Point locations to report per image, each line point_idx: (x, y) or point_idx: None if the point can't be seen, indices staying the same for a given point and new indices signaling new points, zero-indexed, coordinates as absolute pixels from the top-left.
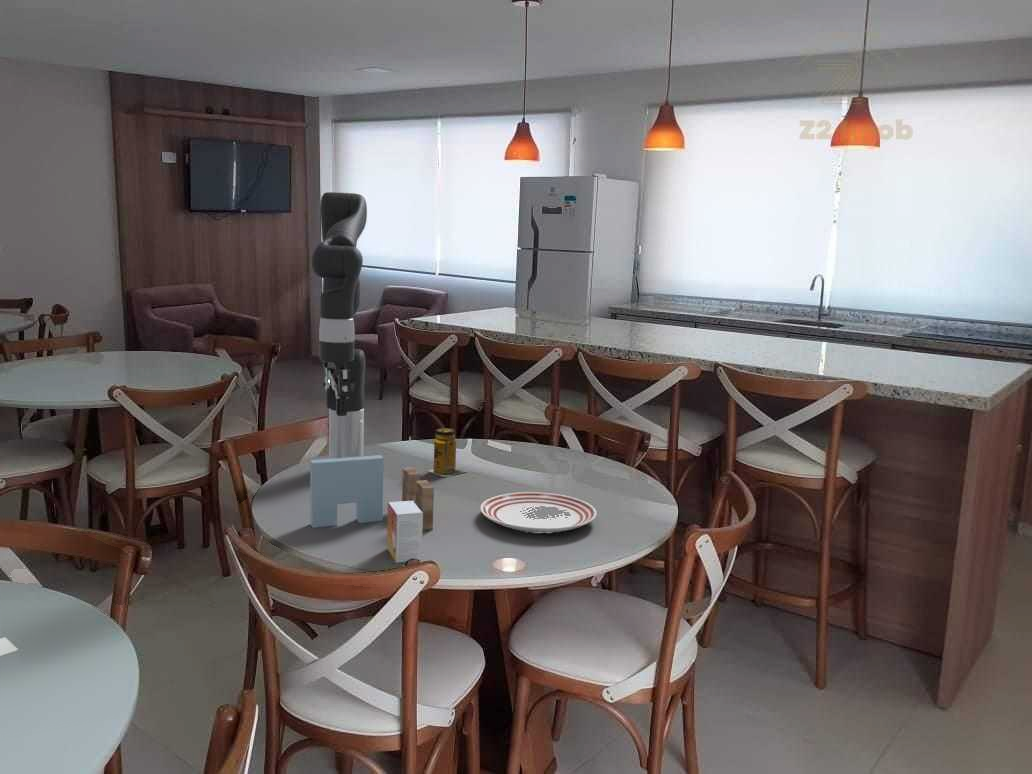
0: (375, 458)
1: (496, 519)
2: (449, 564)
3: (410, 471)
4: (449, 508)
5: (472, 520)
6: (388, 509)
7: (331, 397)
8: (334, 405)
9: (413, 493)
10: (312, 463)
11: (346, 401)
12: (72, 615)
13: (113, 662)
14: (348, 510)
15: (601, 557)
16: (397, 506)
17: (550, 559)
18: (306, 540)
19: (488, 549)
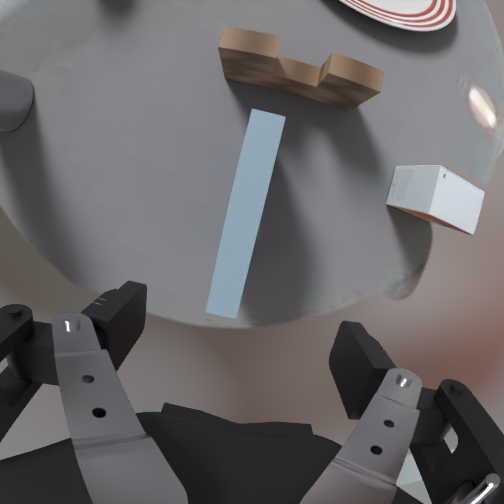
0: (277, 139)
1: (378, 11)
2: (460, 163)
3: (254, 44)
4: (271, 17)
5: (342, 23)
6: (426, 215)
7: (123, 338)
8: (142, 299)
9: (274, 65)
10: (235, 318)
11: (383, 362)
12: None
13: (404, 460)
14: (186, 170)
15: (490, 27)
16: (452, 213)
17: (484, 63)
18: (287, 295)
19: (444, 88)
